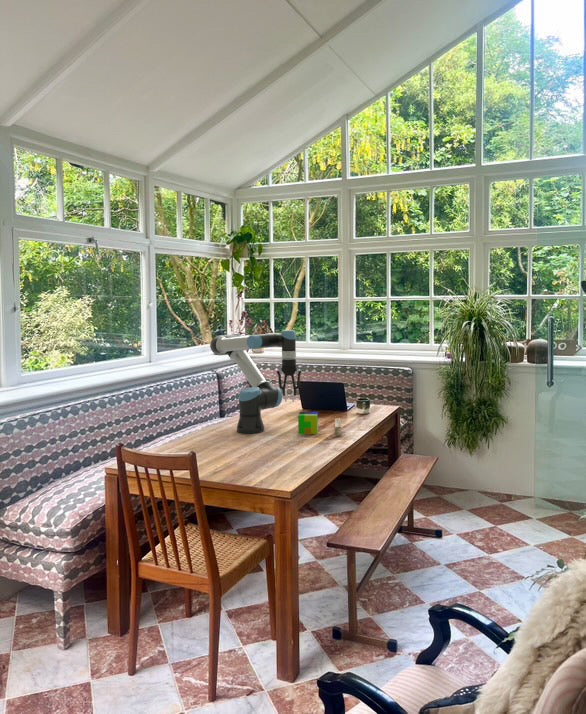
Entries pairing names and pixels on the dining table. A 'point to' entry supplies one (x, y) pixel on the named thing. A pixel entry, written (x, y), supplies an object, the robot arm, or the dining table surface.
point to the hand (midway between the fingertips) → (289, 401)
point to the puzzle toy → (308, 423)
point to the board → (337, 427)
